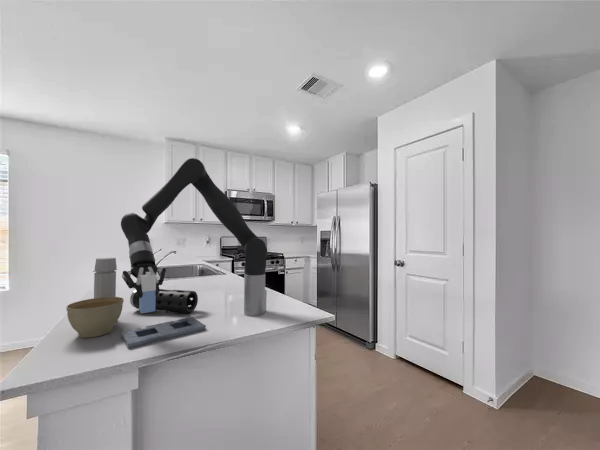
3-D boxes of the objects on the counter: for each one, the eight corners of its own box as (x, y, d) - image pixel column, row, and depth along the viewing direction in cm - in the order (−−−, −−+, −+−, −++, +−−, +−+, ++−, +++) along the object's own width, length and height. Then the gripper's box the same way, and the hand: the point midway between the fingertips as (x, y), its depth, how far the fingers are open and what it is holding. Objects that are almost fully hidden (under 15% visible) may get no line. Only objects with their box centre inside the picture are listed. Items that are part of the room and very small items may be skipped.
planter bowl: (116, 322, 106) (117, 294, 107) (128, 333, 95) (128, 302, 95) (62, 333, 95) (63, 302, 95) (68, 347, 84) (69, 311, 84)
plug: (152, 308, 94) (153, 270, 94) (155, 311, 91) (156, 272, 91) (139, 310, 91) (140, 272, 91) (141, 313, 88) (142, 273, 88)
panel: (192, 321, 107) (192, 316, 107) (205, 331, 97) (205, 325, 97) (120, 337, 91) (120, 331, 91) (127, 350, 81) (128, 343, 81)
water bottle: (118, 321, 107) (119, 258, 108) (94, 326, 101) (95, 259, 102) (112, 316, 113) (113, 256, 114) (89, 320, 108) (90, 258, 108)
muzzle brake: (185, 317, 112) (185, 293, 112) (128, 313, 118) (128, 289, 118) (198, 311, 122) (198, 288, 122) (144, 307, 127) (145, 285, 127)
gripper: (120, 250, 92) (125, 292, 83) (164, 248, 101) (174, 286, 92) (117, 264, 96) (122, 305, 87) (160, 261, 105) (169, 298, 96)
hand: (149, 295), depth 89 cm, fingers closed on plug, 4 cm apart
